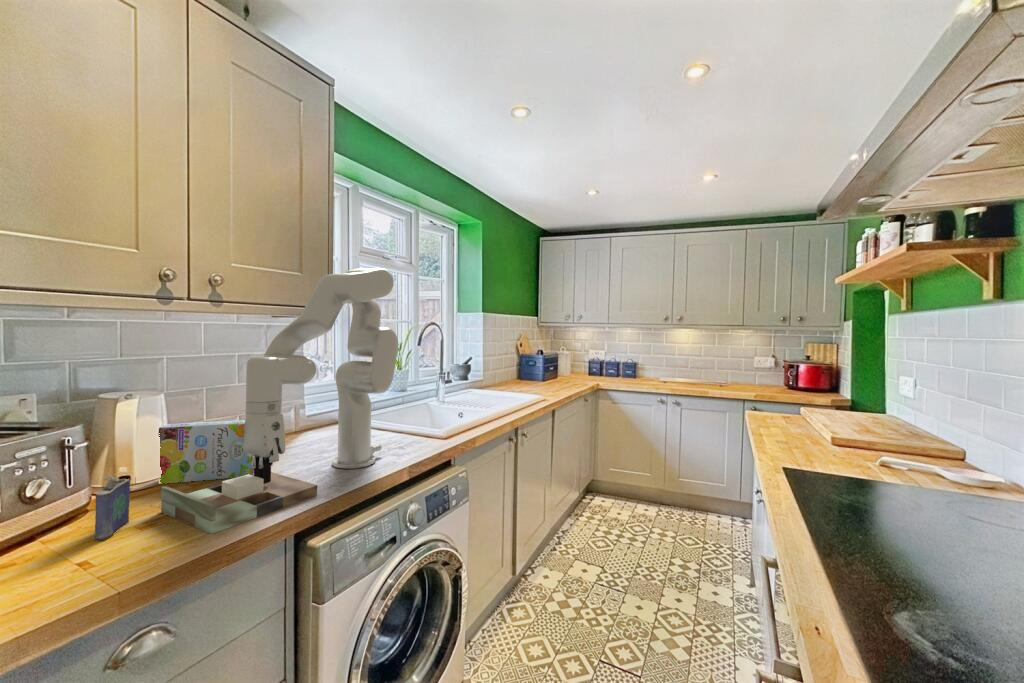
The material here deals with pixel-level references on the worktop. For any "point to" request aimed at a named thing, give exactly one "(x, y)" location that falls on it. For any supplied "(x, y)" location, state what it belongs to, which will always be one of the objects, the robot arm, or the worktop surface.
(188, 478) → the snack box
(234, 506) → the box
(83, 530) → the worktop surface
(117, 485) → the flask
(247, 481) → the block
